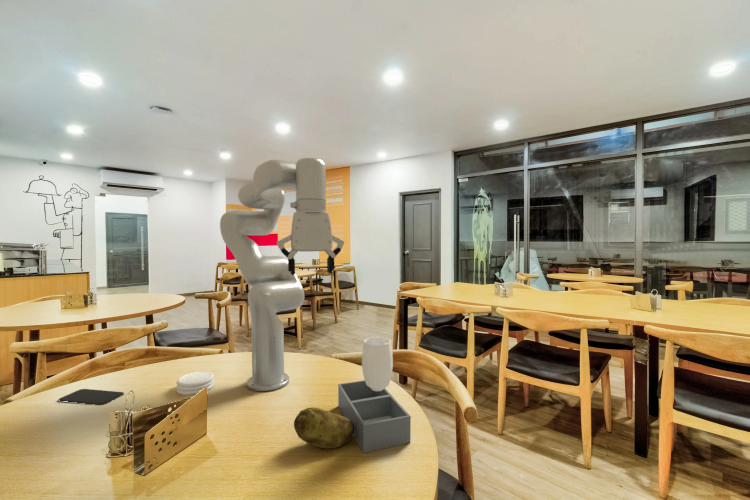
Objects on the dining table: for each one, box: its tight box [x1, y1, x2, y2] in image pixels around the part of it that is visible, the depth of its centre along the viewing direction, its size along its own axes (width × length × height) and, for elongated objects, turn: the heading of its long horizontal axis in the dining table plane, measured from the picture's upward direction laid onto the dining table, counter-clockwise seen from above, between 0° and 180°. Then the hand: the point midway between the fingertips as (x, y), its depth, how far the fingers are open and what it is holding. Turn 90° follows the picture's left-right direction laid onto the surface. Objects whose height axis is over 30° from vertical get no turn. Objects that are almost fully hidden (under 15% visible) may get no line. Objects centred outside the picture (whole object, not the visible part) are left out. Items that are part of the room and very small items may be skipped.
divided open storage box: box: [337, 379, 412, 454], centre depth 87 cm, size 22×11×6 cm, turn 20°
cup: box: [361, 336, 394, 391], centre depth 81 cm, size 7×7×21 cm
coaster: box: [176, 371, 215, 396], centre depth 107 cm, size 10×10×4 cm
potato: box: [293, 407, 355, 450], centre depth 78 cm, size 8×13×8 cm, turn 86°
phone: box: [58, 388, 125, 406], centre depth 100 cm, size 7×1×15 cm
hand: (311, 273), depth 91 cm, fingers open, 9 cm apart
